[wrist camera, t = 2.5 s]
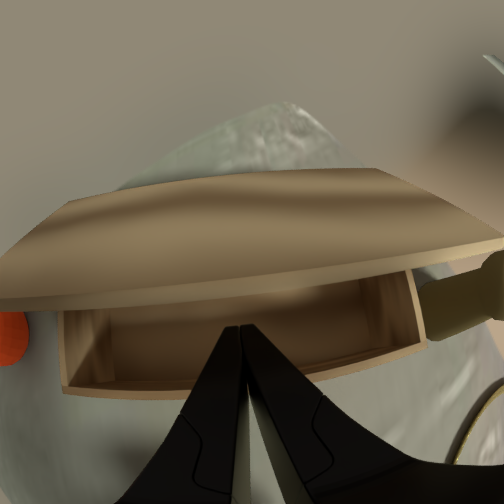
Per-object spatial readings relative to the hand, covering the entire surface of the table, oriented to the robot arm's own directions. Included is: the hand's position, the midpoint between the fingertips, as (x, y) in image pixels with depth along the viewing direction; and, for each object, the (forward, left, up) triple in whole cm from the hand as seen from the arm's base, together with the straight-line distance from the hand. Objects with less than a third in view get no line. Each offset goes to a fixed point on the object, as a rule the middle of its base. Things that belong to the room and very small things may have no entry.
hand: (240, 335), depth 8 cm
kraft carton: (+3, 0, -14) cm, 14 cm away
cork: (-1, -19, -14) cm, 23 cm away
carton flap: (+5, 0, -2) cm, 5 cm away
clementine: (+1, +23, -14) cm, 27 cm away
